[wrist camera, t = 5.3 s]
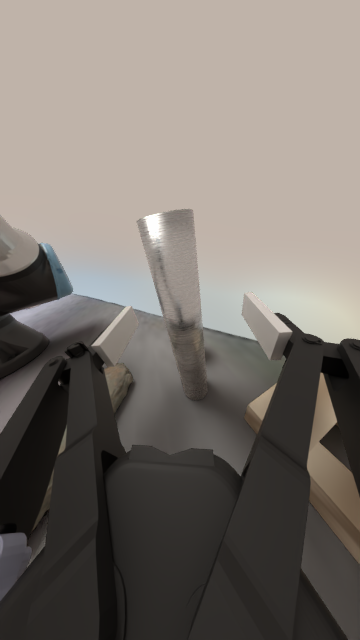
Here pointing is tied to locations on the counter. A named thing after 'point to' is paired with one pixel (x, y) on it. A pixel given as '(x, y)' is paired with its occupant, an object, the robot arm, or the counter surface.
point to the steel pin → (178, 291)
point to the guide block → (323, 471)
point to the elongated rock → (117, 387)
